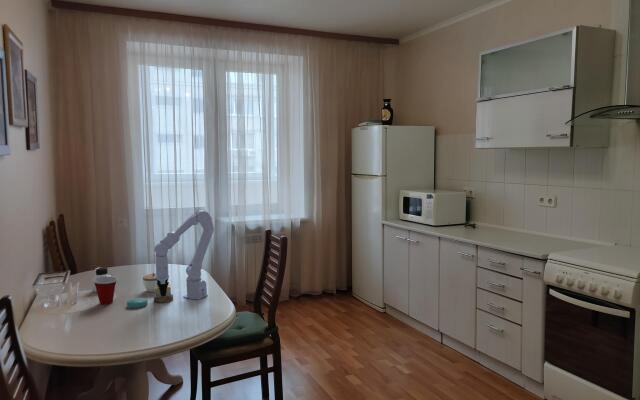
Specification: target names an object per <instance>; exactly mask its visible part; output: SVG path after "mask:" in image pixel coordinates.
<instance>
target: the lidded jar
mask: <svg viewBox="0 0 640 400" xmlns="http://www.w3.org/2000/svg"><path fill="white" fill-rule="evenodd" d="M154 277H156V273H155V272H152V273H150V274H145V275H143V277H142V280H143V281H142V282H143V286H144V288H145V289H146V291H148V293H156V289H155V286H158V285H157V279H154Z"/></svg>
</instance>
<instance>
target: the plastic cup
mask: <svg viewBox="0 0 640 400" xmlns="http://www.w3.org/2000/svg"><path fill="white" fill-rule="evenodd" d="M117 281H118V278H117V277H116V276H111V277H99V278H95V279H94V280H93V282H94V283H95V287H96V290H97V291H96V295H97V298H98V301H99V304H100V305H101V306H102V305H106V306H107V305H110V304H112V303H114V296H115V289H116V285H117Z"/></svg>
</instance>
